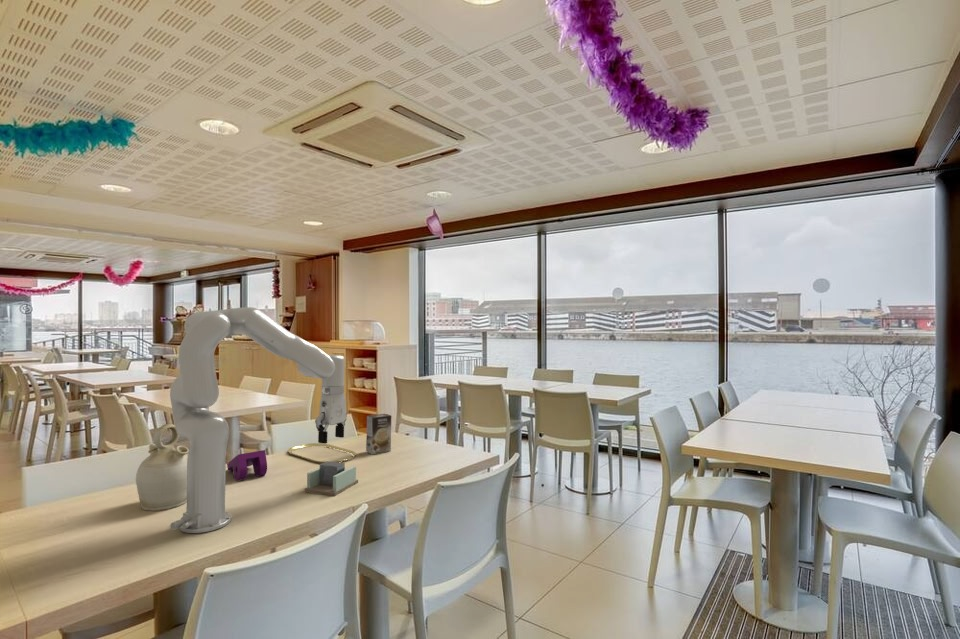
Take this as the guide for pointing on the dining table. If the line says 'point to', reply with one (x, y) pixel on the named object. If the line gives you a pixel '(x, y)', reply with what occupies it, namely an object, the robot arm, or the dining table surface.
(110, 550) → the dining table surface
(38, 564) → the dining table surface
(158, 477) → the jug
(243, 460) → the mounting bracket
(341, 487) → the post slot
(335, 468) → the tall grey upright block
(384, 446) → the coffee box
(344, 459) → the gold oval ring
